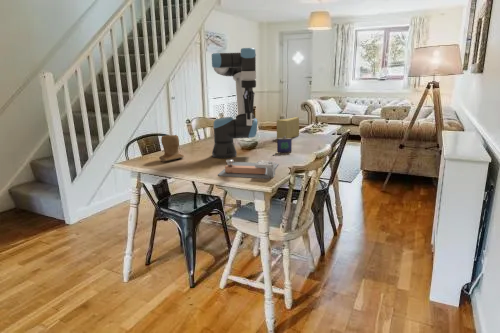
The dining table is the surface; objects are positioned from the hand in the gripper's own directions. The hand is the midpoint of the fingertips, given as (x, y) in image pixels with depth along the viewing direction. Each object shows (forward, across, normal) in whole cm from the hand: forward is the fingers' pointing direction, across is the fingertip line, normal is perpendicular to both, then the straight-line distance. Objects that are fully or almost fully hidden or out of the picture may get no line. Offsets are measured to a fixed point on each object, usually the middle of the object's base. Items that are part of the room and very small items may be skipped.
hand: (249, 125), depth 183 cm
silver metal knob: (+17, +18, -5) cm, 26 cm away
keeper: (+21, +18, +13) cm, 31 cm away
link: (+21, +18, +3) cm, 27 cm away
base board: (+22, +10, +3) cm, 24 cm away
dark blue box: (+24, -34, +12) cm, 43 cm away
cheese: (+26, -86, +7) cm, 90 cm away
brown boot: (+23, -2, -51) cm, 56 cm away
